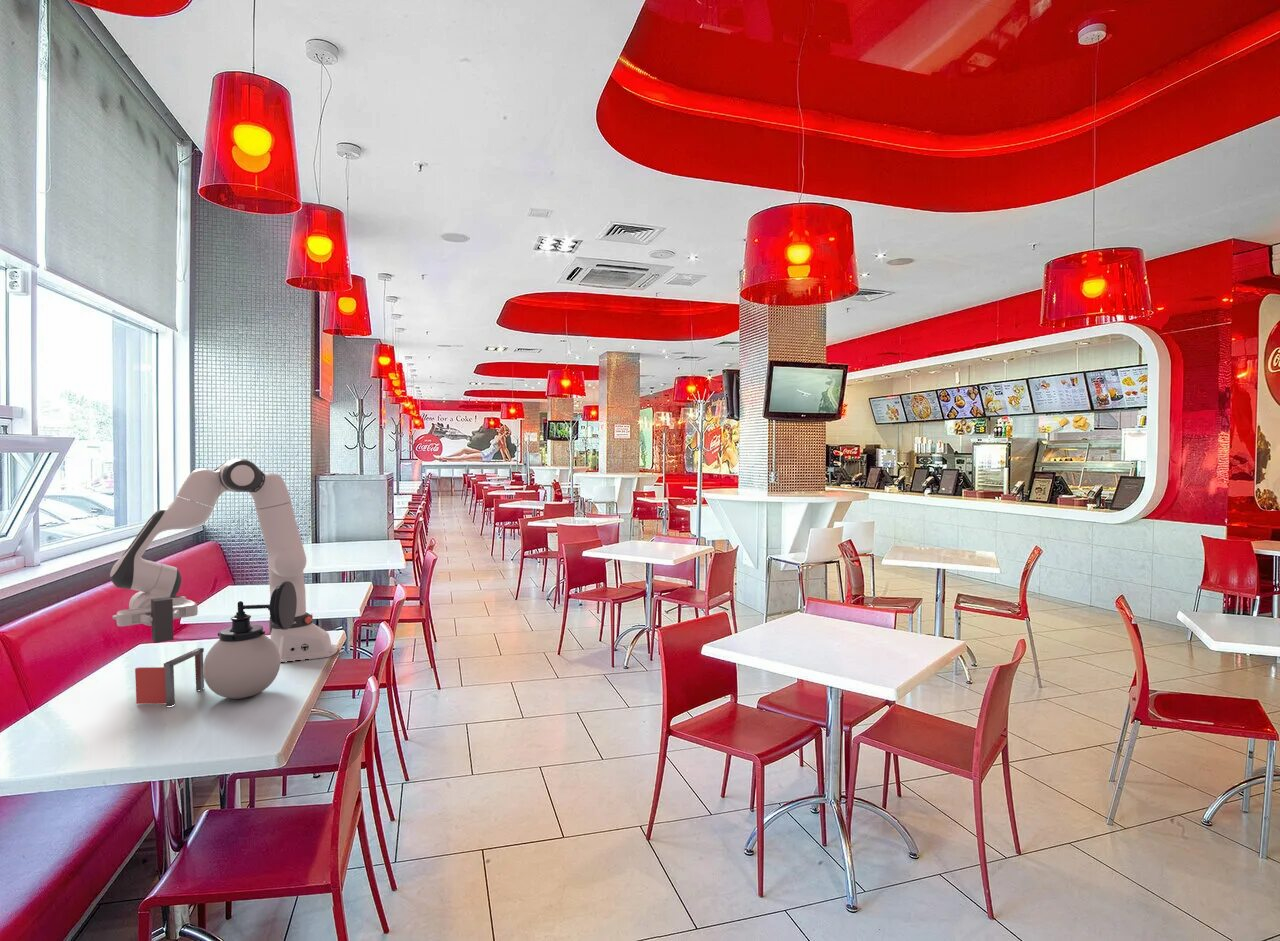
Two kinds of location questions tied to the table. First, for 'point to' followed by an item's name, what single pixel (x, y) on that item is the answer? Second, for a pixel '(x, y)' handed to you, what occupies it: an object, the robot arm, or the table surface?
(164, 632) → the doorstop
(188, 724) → the table surface
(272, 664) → the light fixture
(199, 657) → the frame
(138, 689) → the red square panel
